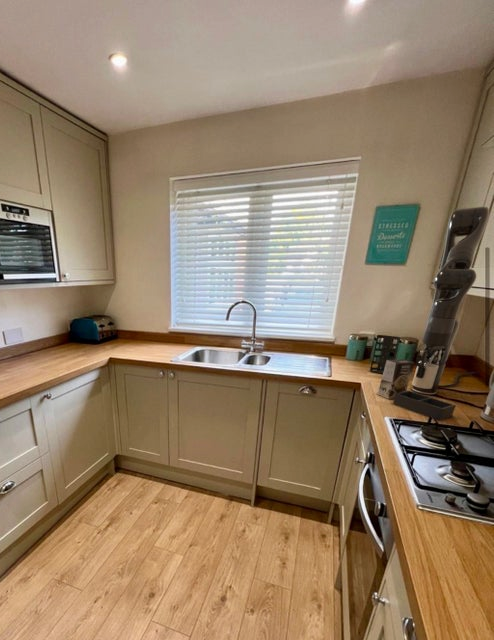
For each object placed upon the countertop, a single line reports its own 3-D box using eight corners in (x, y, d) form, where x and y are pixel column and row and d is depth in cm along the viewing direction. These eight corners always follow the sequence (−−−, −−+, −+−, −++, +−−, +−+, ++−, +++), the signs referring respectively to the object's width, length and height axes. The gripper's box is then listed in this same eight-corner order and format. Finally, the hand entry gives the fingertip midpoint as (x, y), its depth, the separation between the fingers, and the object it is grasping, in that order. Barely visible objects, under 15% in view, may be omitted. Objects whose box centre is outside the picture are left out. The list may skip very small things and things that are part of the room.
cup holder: (405, 400, 142) (408, 390, 140) (452, 416, 128) (455, 405, 126) (392, 404, 138) (395, 393, 136) (439, 420, 124) (443, 409, 122)
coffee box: (388, 399, 143) (398, 363, 137) (376, 394, 148) (385, 359, 142) (405, 397, 145) (415, 362, 139) (393, 392, 151) (402, 358, 145)
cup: (417, 382, 126) (424, 361, 123) (435, 387, 121) (442, 366, 118) (408, 384, 123) (414, 363, 120) (425, 389, 118) (432, 368, 115)
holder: (370, 372, 179) (379, 335, 174) (367, 370, 186) (375, 334, 181) (393, 375, 176) (402, 337, 171) (389, 372, 183) (398, 336, 178)
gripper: (439, 334, 108) (424, 382, 114) (462, 330, 114) (446, 376, 121) (415, 330, 114) (402, 376, 120) (438, 327, 120) (425, 371, 127)
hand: (424, 376), depth 121 cm, fingers closed on cup, 6 cm apart
